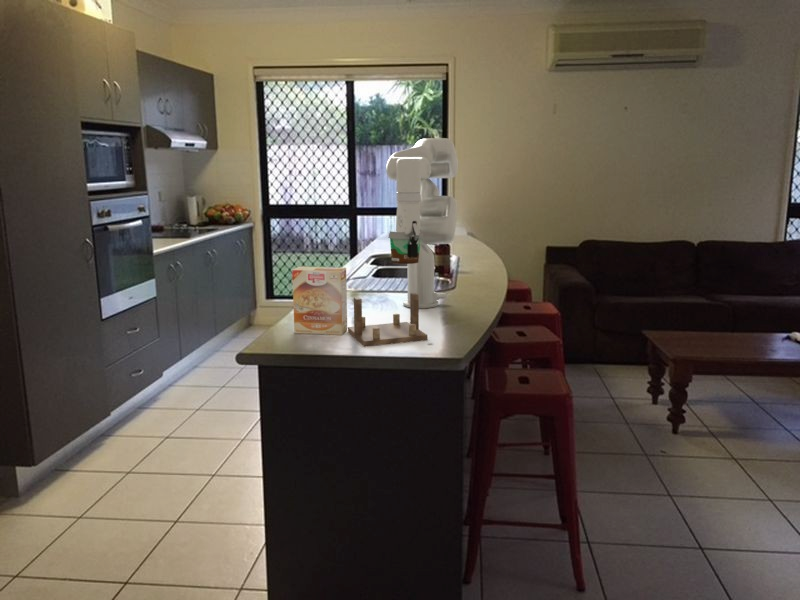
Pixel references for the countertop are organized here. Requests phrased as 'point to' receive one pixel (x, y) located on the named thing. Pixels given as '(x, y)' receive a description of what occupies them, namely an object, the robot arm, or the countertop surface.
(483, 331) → the countertop surface
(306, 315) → the coffeecake box
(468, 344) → the countertop surface
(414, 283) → the robot arm
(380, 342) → the peg stand
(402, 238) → the food container
